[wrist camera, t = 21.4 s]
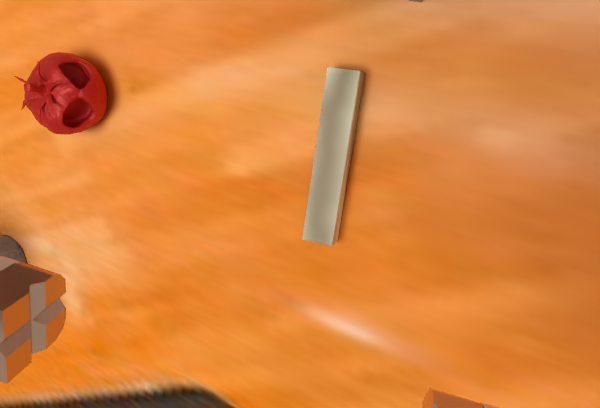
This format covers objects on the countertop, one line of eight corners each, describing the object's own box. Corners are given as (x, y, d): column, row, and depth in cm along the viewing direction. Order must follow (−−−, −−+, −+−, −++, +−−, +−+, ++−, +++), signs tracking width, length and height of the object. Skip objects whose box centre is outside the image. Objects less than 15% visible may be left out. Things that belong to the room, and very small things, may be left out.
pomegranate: (57, 129, 66) (-5, 130, 58) (57, 54, 64) (-8, 44, 56) (116, 137, 63) (60, 140, 55) (117, 58, 61) (59, 48, 53)
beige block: (365, 73, 52) (360, 70, 49) (338, 240, 56) (332, 246, 53) (334, 70, 53) (327, 67, 50) (310, 233, 57) (302, 239, 54)
